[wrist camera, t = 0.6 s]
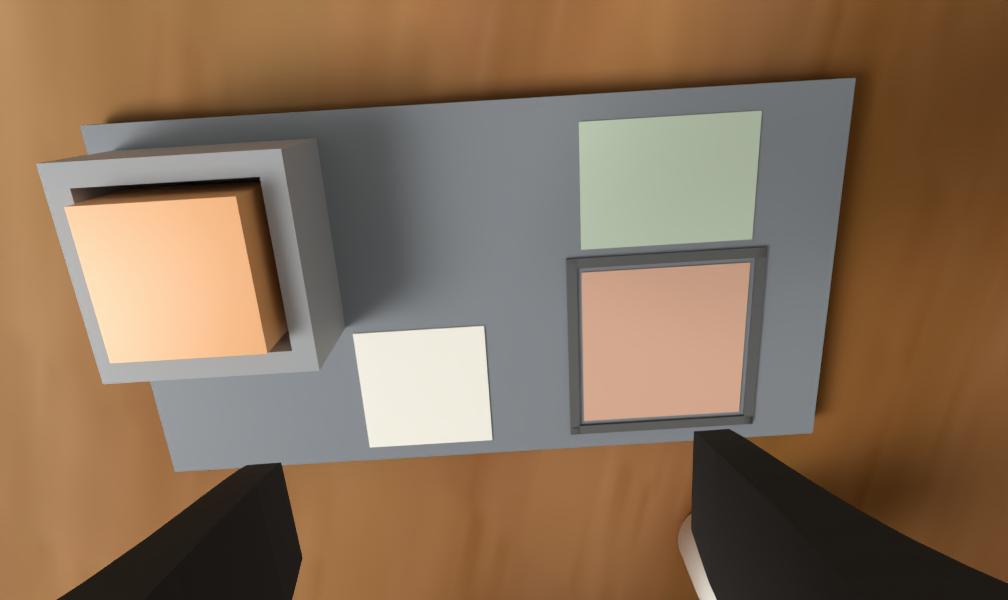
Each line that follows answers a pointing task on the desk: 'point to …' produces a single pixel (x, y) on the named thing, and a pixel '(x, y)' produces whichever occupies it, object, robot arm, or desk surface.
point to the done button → (180, 271)
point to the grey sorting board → (503, 270)
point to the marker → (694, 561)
